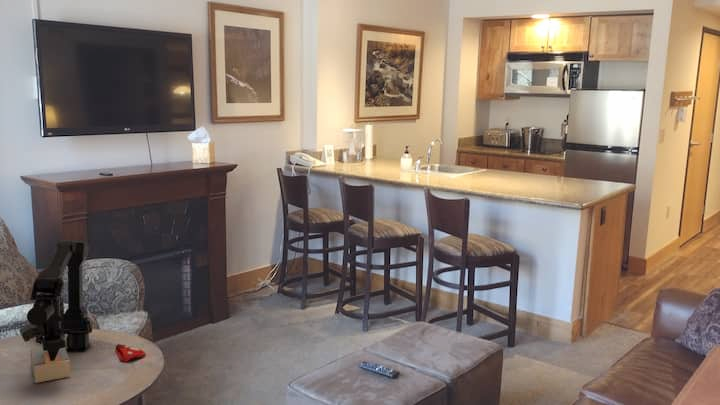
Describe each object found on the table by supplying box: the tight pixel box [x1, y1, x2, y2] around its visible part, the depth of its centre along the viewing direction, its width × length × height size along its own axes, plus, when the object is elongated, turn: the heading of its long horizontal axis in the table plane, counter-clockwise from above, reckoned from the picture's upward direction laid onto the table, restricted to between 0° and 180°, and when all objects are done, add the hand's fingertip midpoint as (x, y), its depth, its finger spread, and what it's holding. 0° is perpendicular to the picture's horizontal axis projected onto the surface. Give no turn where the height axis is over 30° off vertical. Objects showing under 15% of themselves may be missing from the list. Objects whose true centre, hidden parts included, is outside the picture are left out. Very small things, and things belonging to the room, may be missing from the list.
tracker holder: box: [114, 342, 146, 363], centre depth 214 cm, size 12×4×10 cm
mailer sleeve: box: [29, 346, 70, 381], centre depth 201 cm, size 14×10×6 cm
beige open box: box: [34, 351, 71, 384], centre depth 200 cm, size 14×10×10 cm
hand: (52, 360), depth 194 cm, fingers closed, pressing on beige open box
